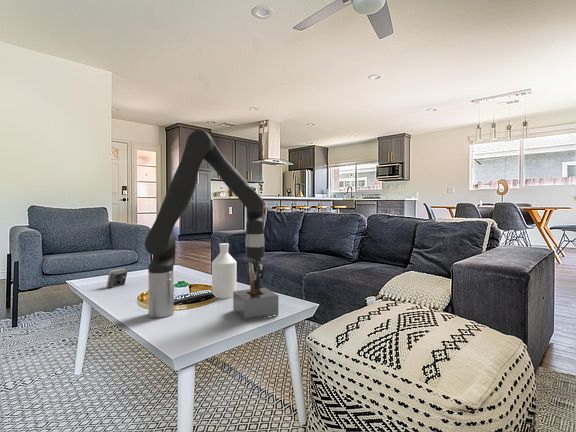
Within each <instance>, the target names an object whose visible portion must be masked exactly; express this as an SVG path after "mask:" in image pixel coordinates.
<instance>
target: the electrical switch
mask: <svg viewBox="0 0 576 432" xmlns="http://www.w3.org/2000/svg"><path fill="white" fill-rule="evenodd" d="M127 276H128V271H126V270H125V268H117V269H113V270H110V271H109V272H108V277H107V282H106V288H108V289H109V288H111V289H114V288H117V287H123V286H125V284H126V281H127Z"/></svg>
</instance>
